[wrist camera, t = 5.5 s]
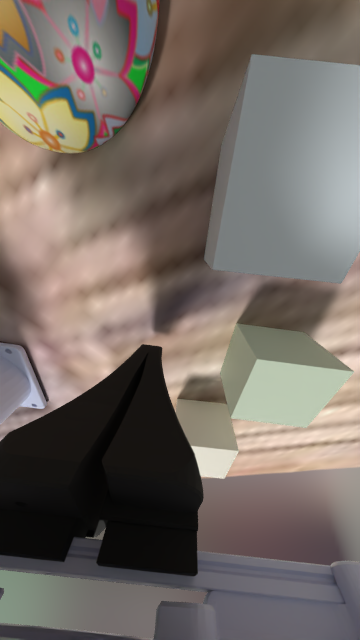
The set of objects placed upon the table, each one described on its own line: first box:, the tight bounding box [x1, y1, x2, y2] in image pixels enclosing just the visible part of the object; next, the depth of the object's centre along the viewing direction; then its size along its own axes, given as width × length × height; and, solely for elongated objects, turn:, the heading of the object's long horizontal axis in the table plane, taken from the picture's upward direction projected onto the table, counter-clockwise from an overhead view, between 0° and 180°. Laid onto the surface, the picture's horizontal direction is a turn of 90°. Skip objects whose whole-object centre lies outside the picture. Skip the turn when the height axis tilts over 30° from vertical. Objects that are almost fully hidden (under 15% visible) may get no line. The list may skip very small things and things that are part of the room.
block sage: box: [220, 323, 354, 428], centre depth 11 cm, size 5×5×4 cm
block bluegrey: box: [204, 54, 360, 283], centre depth 7 cm, size 5×5×4 cm
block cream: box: [175, 399, 239, 479], centre depth 15 cm, size 5×5×4 cm
